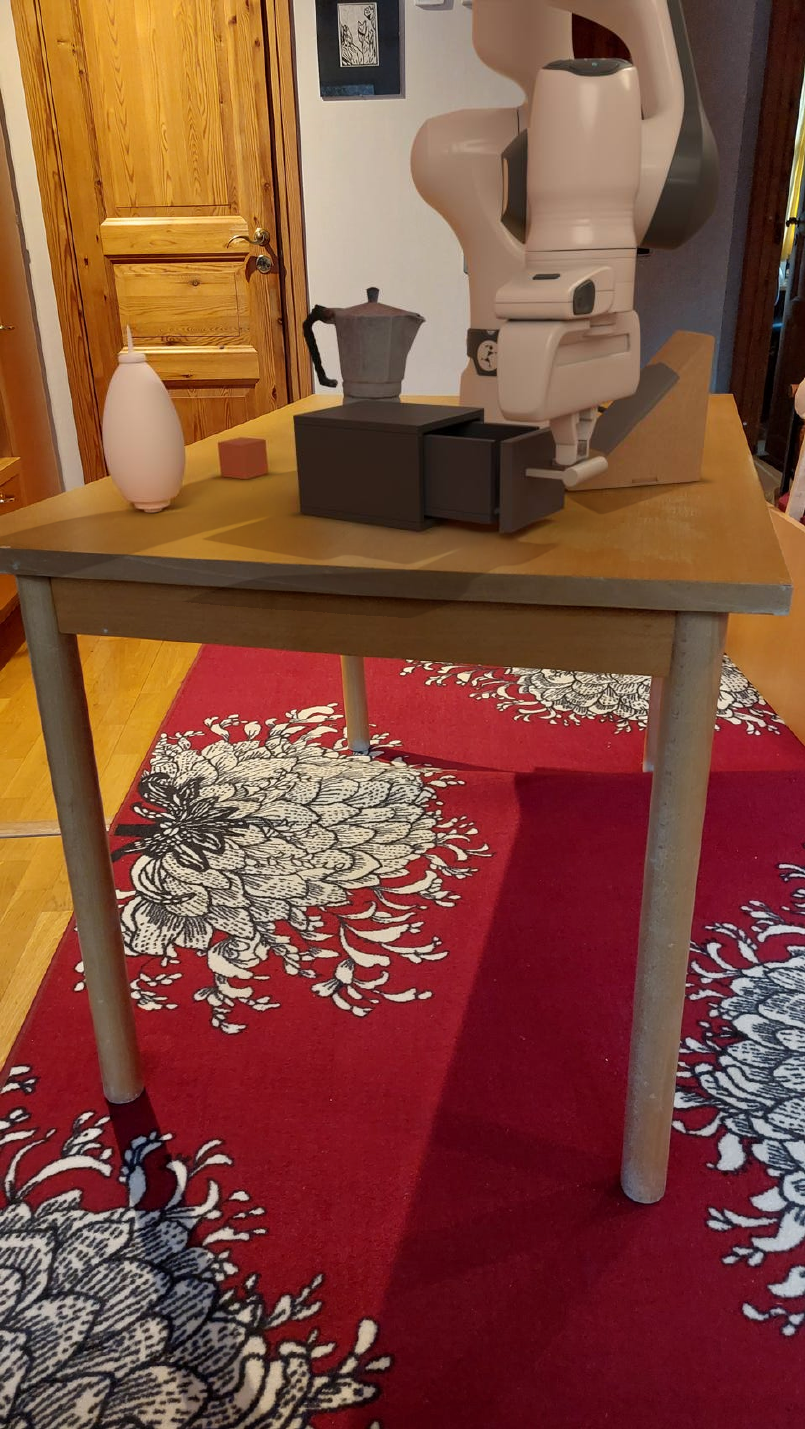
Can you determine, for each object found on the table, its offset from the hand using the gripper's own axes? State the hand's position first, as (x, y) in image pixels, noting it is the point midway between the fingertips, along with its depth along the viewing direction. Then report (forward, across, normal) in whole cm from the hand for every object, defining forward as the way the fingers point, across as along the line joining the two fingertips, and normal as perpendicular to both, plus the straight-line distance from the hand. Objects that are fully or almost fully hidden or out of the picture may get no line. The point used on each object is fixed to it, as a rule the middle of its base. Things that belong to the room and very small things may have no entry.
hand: (571, 462), depth 86 cm
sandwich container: (+6, -24, -6) cm, 26 cm away
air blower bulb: (+6, +12, -42) cm, 44 cm away
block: (+6, -6, -46) cm, 47 cm away
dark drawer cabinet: (+6, 0, -20) cm, 21 cm away
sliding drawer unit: (+5, 0, -7) cm, 9 cm away
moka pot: (+6, -20, -38) cm, 43 cm away
